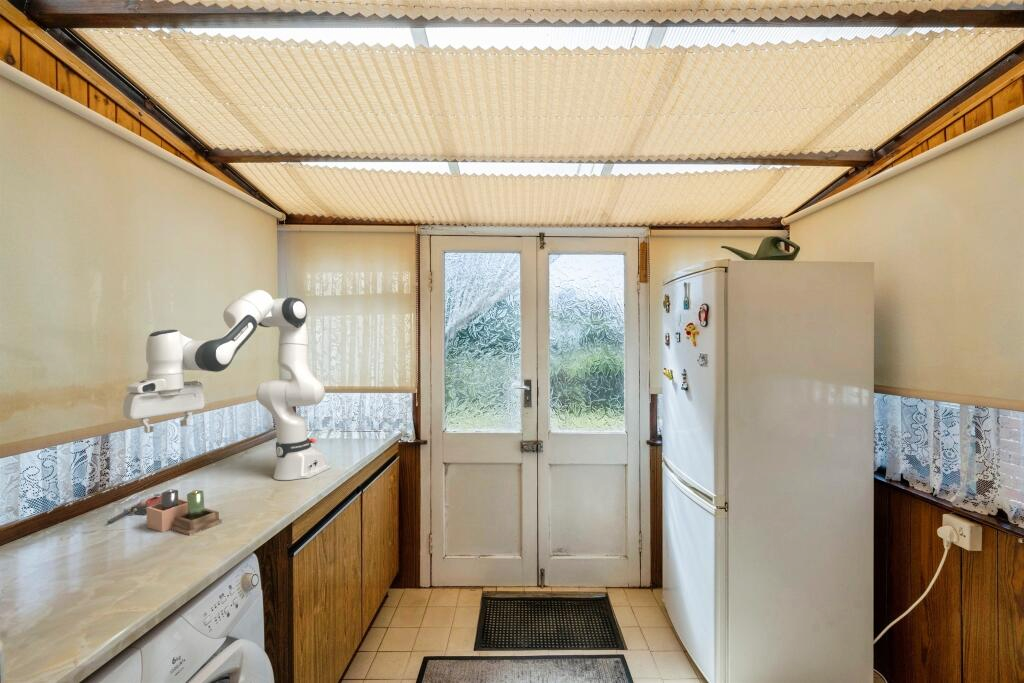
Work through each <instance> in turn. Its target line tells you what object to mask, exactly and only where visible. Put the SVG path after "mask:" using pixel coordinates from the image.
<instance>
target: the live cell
mask: <svg viewBox="0 0 1024 683" xmlns="http://www.w3.org/2000/svg"><path fill="white" fill-rule="evenodd" d="M186 500H187V503H188V517H189V520H194V519H197V518H200V517H203V516H205V496H204V491H203V490H193V491H192V490H191V492H189V493H187V494H186Z"/></svg>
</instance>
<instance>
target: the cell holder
mask: <svg viewBox="0 0 1024 683" xmlns="http://www.w3.org/2000/svg"><path fill="white" fill-rule="evenodd" d="M204 508H205V507H204ZM222 521H223V520H222V519H221V518H220V511H216V510H214V509H209V508H205V516H203V517H200V518H197V519H194V520H189V517H188V513H186V514H183V515H180V516H178V517H175V518H174V524H175V525H174V526H172V529H173V530H172V529H171V530H172V531H174V530H176V531H175V532H177V531H179V533H181V532H182V533H181V534H184V533H185V535H187V534H189V535H188V536H191V535H190V534H192V535H194V534H193V533H195V532H197V533H199V532H198V531H200V530H202V531H204V530H203V529H205V530H207V529H206V528H208V529H210V528H212V526H213V527H215V526H217V525H216V524H218V525H220V524H222V523H223V522H222ZM219 523H220V524H219ZM214 525H215V526H214ZM209 527H210V528H209ZM200 532H201V531H200ZM195 534H196V533H195Z"/></svg>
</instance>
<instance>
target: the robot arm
mask: <svg viewBox="0 0 1024 683" xmlns="http://www.w3.org/2000/svg"><path fill="white" fill-rule="evenodd" d="M222 316H223V321H224V322H225V324H226V326H227V327H228V328H229V330H227V331H226V332H225V334H224V335H222V336H221V337H219V338H215V339H209V340H207V339H206V340H204V339H202V340H196V339H194V338H190V337H188V336H185V335H184V334H183V333H181V331H179V330H178V329H167V330H165V329H163V330H158V331H153V332H151V333H150V334H149V335H148V337H147V340H146V347H145V361H146V364H147V371H146V378H144V379H141V380H139V381H137V382H133V383H131V384H128V385H127V386H126V387H125V388H126V392H128V394H127V395H125V397H124V399H123V406H122V407H123V408H122V409H123V411H122V414H123V415H122V416H123V417H124V418H125V419H126V420H129V421H130V420H132V421H133V420H139V423H140V424H141V425H142V427H144V428H143V429H144V433H145V434H150V433H153V432H154V426H153V425H150V424H149V422H150V420H149V419H150V418H153V417H159V416H166V415H173V414H174V415H175V414H179V413H183V414H184V417H183V419H182V420H179V424H180V425H179V426H180V427H183V428H184V427H188V426H189V420H190V419H191V417H192V415H193V412H194V411H197V410H198V411H199V410H203V408H204V407H205V395H204V385H203V384H202V383H201V382H200V381H198V380H192V381H191V380H189V381H185V372H184V371H206V372H214V373H219V372H222V371H224V370H226V369H227V368H228V367H229V366H230V365H231V363H232V361H233V360H234V357H235V356H236V354H237V352H238V351H239V350H241V348H242V347H243V345H245V343H246V342H247V341H248V340H249V339H250V338H251V337H252V336H253V334H254V333H255V332H256V329H257V328H258V326H259V327H263V328H271V327H272V328H273V327H274V328H278V330H279V338H278V347H277V348H278V349H277V363H278V366H279V367H281V369H283V370H285V371H287V372H288V373H290V376H291V379H290V378H288V379H287V378H286V379H271V380H266V381H263V382H261V383H259V384H260V385H258V387H257V388H256V389H257V390H256V393H255V396H256V400H257V401H258V403H259V404H260V405H261V406H263V407H264V408H265V409H267V411H268V412H270V414H271V416H272V417H273V419H274V420H273V421H274V423H275V430H276V442H275V453H276V460H275V461H276V463H275V468H274V474H273V476H272V478H273V480H277V481H292V480H293V481H294V480H299V479H309V478H312V477H314V476H316V475H319V474H320V473H323V472H325V471H327V470H329V469H331V468H332V464H331V463H328V462H326V456H325V454H324V453H323V452H321V451H320V450H318V449H317V448H314V446H312V444H316V443H317V439H316V438H308V422H307V420H306V418H305V417H304V416H302V415H300V414H298V413H296V412H295V410H294V408H293V407H309V406H314V405H318V404H320V403H321V402H322V401H323V399H324V398H325V393H326V390H325V387H324V384H323V383H322V382H321V380H319V379H317V377H315V375H314V374H313V373H312V371H311V368H310V366H309V365H310V364H309V332H308V325H307V324H306V319H307V316H308V308H307V305H306V304H305V302H304V300H302V299H301V298H298V297H291V296H290V297H281V298H280V297H279V298H274V299H273V297H272V295H271V294H270V293H269V292H267V291H265V290H263V289H253V290H251V291H249V292H246V293H244V294H242V295H241V296H239V297H238V298H237V299H235V300H234V301H232V302H231V303H230V304H229V305H227V307H225V309H224V310H223V313H222Z"/></svg>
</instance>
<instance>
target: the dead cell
mask: <svg viewBox="0 0 1024 683" xmlns="http://www.w3.org/2000/svg"><path fill="white" fill-rule="evenodd" d="M161 494H162V511H164V510H167V509H170V508H173V507H176V506H178V498H179V490H178V489H172V488H171V489H166V490H165V491H162V493H161Z"/></svg>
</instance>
